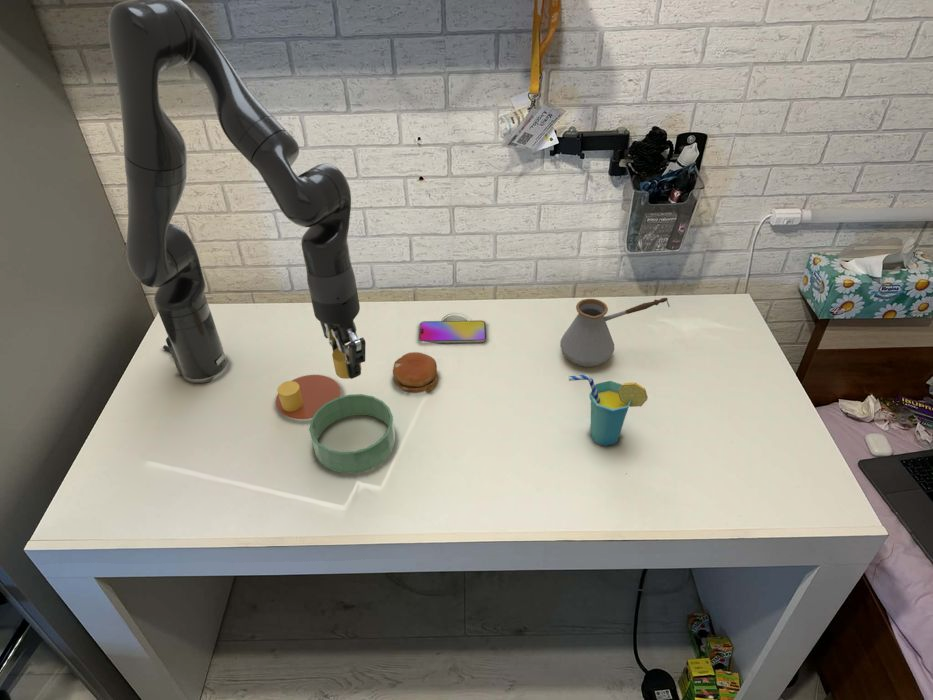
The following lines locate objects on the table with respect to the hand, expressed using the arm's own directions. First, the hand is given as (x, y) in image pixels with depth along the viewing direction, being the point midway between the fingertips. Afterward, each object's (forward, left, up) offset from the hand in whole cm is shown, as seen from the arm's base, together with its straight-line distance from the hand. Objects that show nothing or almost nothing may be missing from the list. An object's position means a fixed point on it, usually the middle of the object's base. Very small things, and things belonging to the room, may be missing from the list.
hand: (348, 368), depth 117 cm
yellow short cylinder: (0, 0, -1) cm, 1 cm away
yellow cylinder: (-15, +2, -14) cm, 21 cm away
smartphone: (+9, +33, -16) cm, 37 cm away
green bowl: (+1, -4, -15) cm, 16 cm away
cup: (+45, +10, -16) cm, 49 cm away
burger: (+6, +16, -16) cm, 23 cm away
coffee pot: (+44, +34, -16) cm, 58 cm away
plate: (-13, +5, -15) cm, 21 cm away
